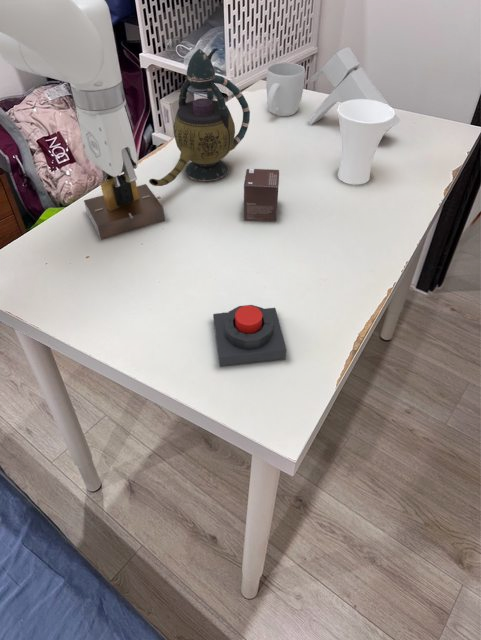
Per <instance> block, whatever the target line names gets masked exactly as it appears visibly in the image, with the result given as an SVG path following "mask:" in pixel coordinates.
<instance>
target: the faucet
mask: <svg viewBox="0 0 481 640" xmlns="http://www.w3.org/2000/svg"><path fill="white" fill-rule="evenodd" d="M359 67H360V62H359V60H358V59H357V57H356V56H355V54H354V52H353V50H352V49H351V47H350V46H347V47H343V49H340V50H339V51H337V52H336V53H334V55H333V56H332V57H331V58H330V59H329V60H328V61H327V62H326V63H325V64H324V65H323V67H322V68H321V69H319V70H318V71H316V72H315V73H313V75H312V76H311V78H310V79H309V82H310V83H311V82H312V83H313V82H316V81H317V80H319V78H320V77H321V75H323V74H324V76H325V77H326V78H327V80H328V81H329V83H330V84H331V85H332V86H333V88H334V89H333V90H332V91H331V92H330V94H329V95H328V96H327V97H326V98H325V99H324V100H323V101H322V103H320V105H319V106H318V107H317V109H316V110H315V112H314V113H313V114H312V115H311V117H310V118H309V125H313V124H314V123H317V122H318V121H319V120H322V119H323V118H324V116H325V115H326V114H327V113H328V112H329V111H330V110H331V109H332V108H333V107H334V106H335V105H336V104H337V103H340V104H342V103H343V102H346V101H349V100H355V99H368V100H375V101H379V102H382V103H385V104H387V105H389V106H390V104H389V103H388V102H387V100H386V98H384V96H383V95H382V93H381V91H379V89H378V88H377V86H376V84H374V82H373V81H372V80H371V78H370V77H369V76H368V74H367V73H366V71H365V70H364V68H363V67H360V68H359ZM400 122H401V120H400V118H399V116H397V114H396V113H395V115H394V117H393V119H392V121H391V123H390V124H389V126H388V128H387V130H386V131H385V133H387V132H388V131H390V129H392V128H393V127H395V126H396V125H398V123H400Z"/></svg>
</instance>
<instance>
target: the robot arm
mask: <svg viewBox="0 0 481 640" xmlns="http://www.w3.org/2000/svg"><path fill="white" fill-rule="evenodd" d="M111 16H112V15H111V12H110V7H109V5H108V3H107V1H106V0H0V57H1V58H2V59H3V60H4V61H5V62H6V63H8V64H9V65H10V66H12V67H14V68H16V69H17V70H20V71H22V72H26V73H29V74H33V75H37V76H41V77H45V78H50V79H52V80H53V79H54V80H57V81H60V82H64V83H68V84H69V85H70V90H71V93H72V97H73V98H72V99H73V101H74V105H75V108H76V116H77V122H78V129H79V132H80V137H81V143H82V146H83V150H84V151H83V152H84V154H85V156H86V158H87V159H88V161H89V162H91V163H92V164H93V165H95V166H96V167H98V168H99V169H100V170H101V173H102V177H103V178H104V179H105V181H107V180H109V179H112V178H113V180H114V184H115V185H114V186H113V190H114V194H115V199H116V203H117V205H118V206H119V207H121V206H123V205H125V204H128V203H130V202H132V201H133V200H134V198H133V193H132V188H131V182H133V181H135V180H136V181H137V180H138V177H137V175H136V172H135V169H138V166H139V165H138V163H139V162H138V161H139V160H138V153H137V149H136V143H135V139H134V135H133V130H132V127H131V122H130V119H129V115H128V113H127V110H126V107H125V106H126V105H127V100H126V95H125V90H124V89H125V88H124V83H123V77H122V73H121V72H122V71H121V67H120V62H119V55H118V51H117V44H116V39H115V34H114V28H113V23H112V17H111ZM119 175H120V176H119Z"/></svg>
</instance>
